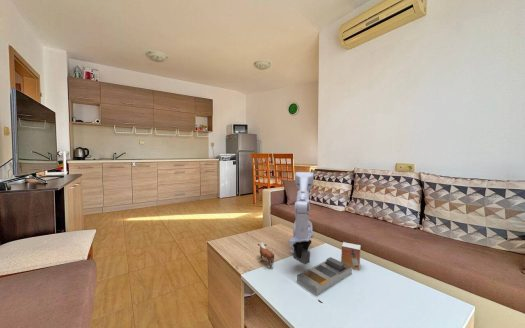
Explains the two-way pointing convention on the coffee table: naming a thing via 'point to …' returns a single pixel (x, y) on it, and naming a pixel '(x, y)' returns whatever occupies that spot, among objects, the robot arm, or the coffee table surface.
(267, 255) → the bull figurine
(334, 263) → the dark grey rectangular block
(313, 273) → the rack
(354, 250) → the small box
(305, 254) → the dark grey block piece
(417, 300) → the coffee table surface
